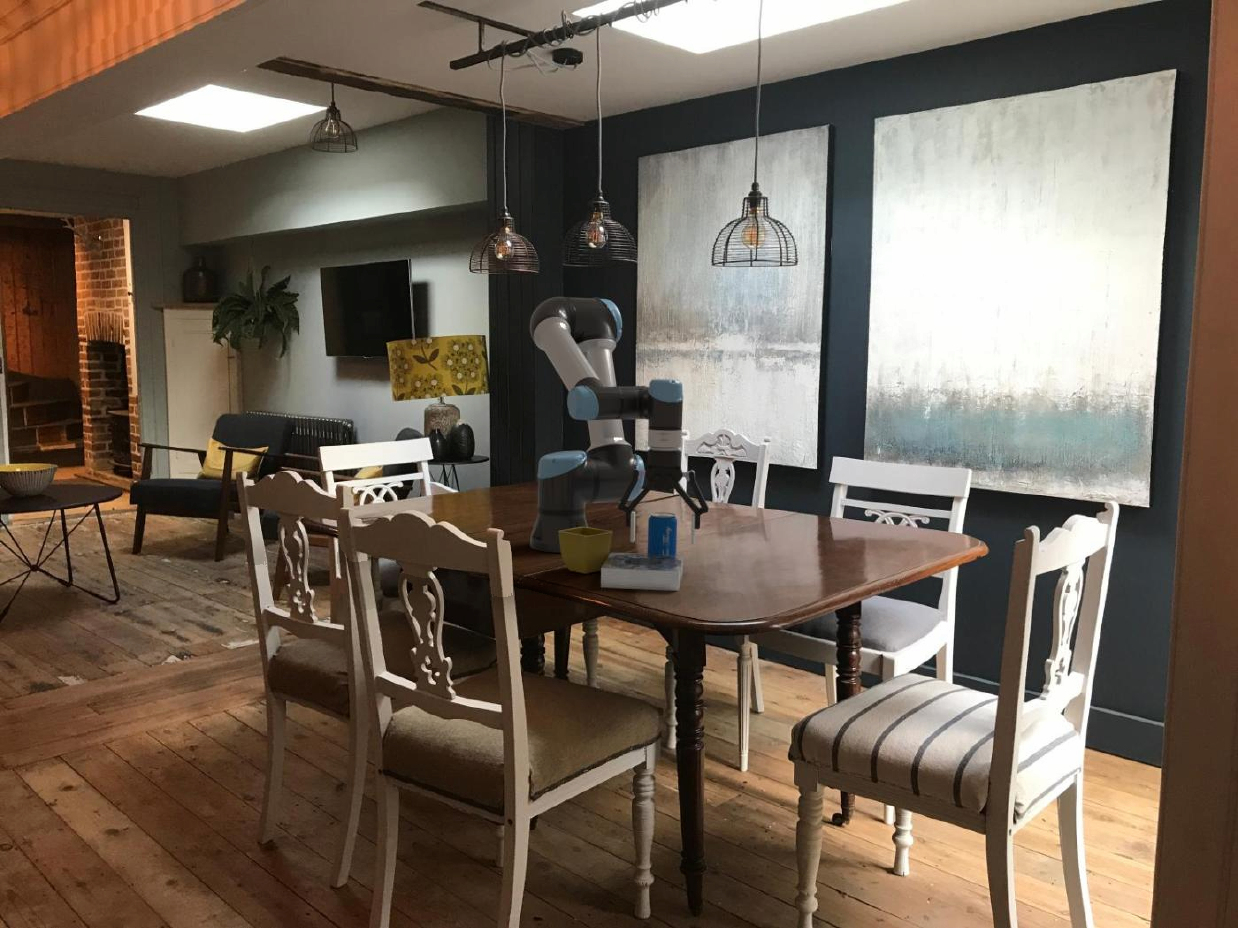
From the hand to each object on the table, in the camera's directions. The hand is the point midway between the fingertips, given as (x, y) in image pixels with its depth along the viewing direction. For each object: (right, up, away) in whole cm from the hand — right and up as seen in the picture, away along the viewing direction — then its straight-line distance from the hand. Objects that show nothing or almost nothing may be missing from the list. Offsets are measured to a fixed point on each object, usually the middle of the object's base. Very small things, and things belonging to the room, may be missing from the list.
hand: (662, 542), depth 225 cm
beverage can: (0, -6, +1) cm, 6 cm away
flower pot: (-17, -6, -5) cm, 19 cm away
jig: (-5, -7, -13) cm, 15 cm away
